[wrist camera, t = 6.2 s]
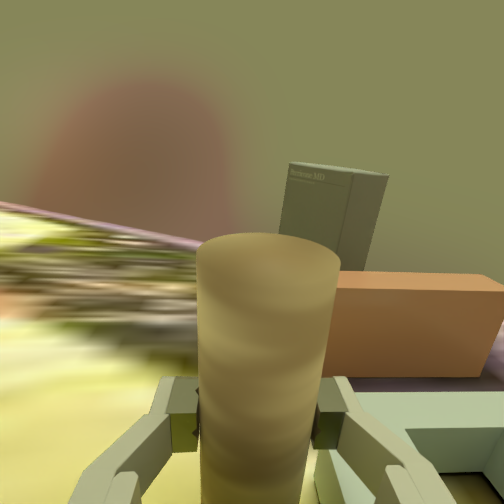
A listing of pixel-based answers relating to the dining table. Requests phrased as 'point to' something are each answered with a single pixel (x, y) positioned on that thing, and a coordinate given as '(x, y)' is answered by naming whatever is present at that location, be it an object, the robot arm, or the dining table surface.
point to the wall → (412, 324)
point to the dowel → (260, 362)
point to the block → (425, 438)
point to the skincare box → (333, 209)
